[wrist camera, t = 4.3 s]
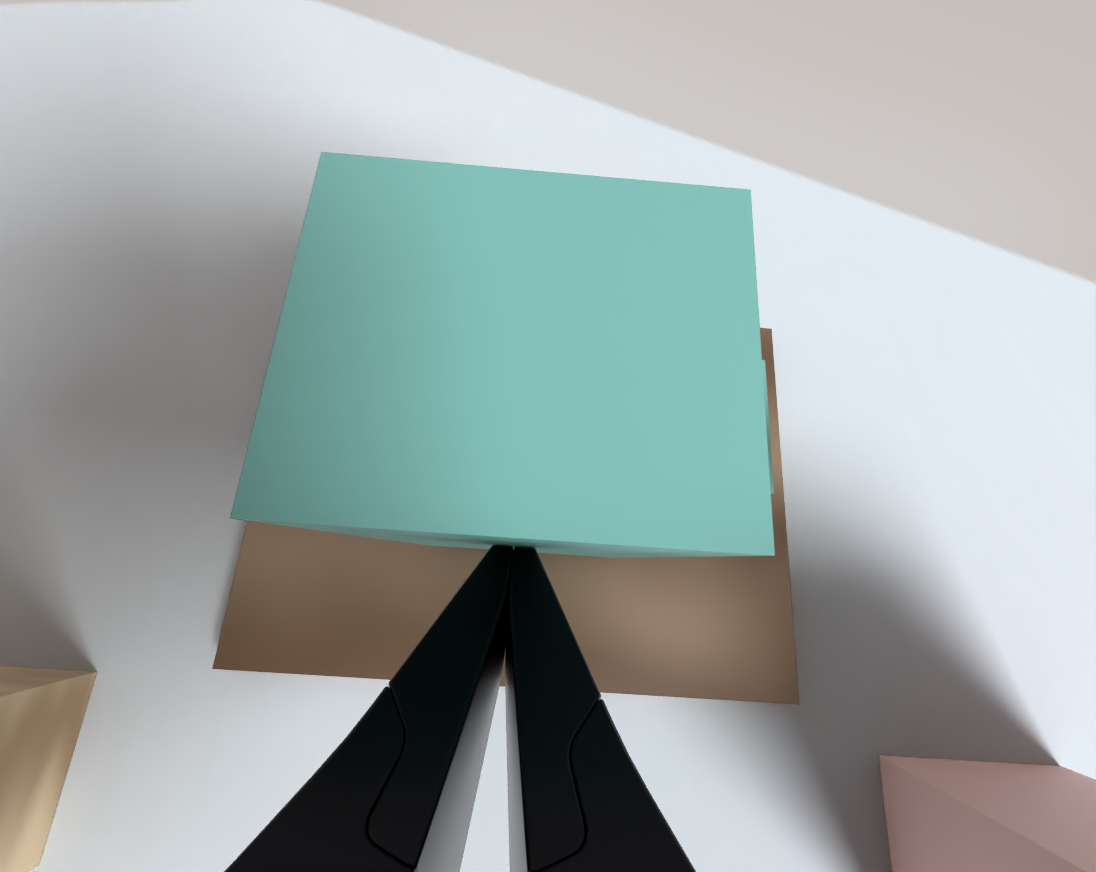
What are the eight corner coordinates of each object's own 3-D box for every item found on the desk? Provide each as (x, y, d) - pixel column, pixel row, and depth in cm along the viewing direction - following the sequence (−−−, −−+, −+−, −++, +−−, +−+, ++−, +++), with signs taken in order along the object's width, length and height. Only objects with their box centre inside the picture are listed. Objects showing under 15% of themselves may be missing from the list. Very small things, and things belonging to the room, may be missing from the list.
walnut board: (785, 696, 15) (804, 707, 14) (229, 663, 14) (205, 671, 13) (761, 338, 18) (775, 325, 17) (312, 302, 18) (298, 286, 17)
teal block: (612, 557, 15) (775, 555, 5) (427, 545, 15) (229, 519, 5) (616, 412, 16) (750, 189, 6) (447, 399, 16) (321, 152, 6)
